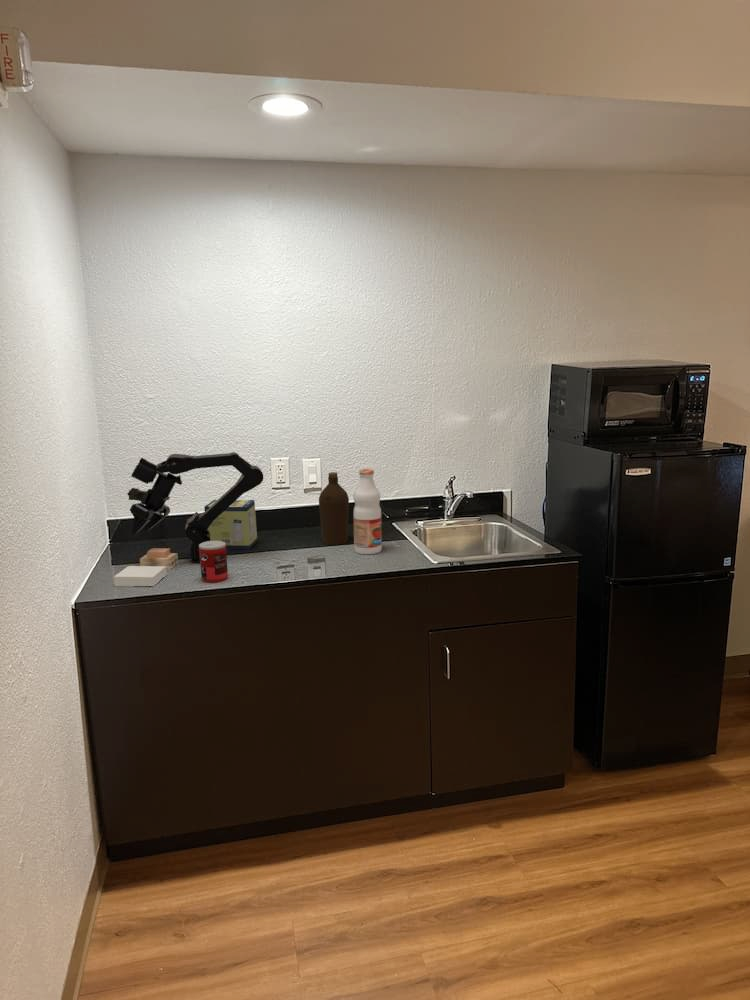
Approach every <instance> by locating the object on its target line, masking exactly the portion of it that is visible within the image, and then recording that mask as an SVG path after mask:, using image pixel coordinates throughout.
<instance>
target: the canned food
mask: <svg viewBox="0 0 750 1000" xmlns="http://www.w3.org/2000/svg"><path fill="white" fill-rule="evenodd" d="M199 555H200V562H199V565H200V575H201V576H200V577H201V579H202V581H203V582H205V583H220V582H223V580H224V581H226V580H227V579H228V576H229V573H228V572H229V570H228V557H227V549H226V544H225V542H223V541H207V542H203V543H201V544H199Z"/></svg>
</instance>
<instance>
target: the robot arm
mask: <svg viewBox="0 0 750 1000" xmlns="http://www.w3.org/2000/svg"><path fill="white" fill-rule="evenodd" d="M229 466H232V467H233V468H234V469H236V470H237V471H238V472H239V473H240V474H241V475H240V476H239V478H238V479H237V481H236V482H235V484H233V486H231V487H230V488H229V489H228V490H227V491H226V492H225V493H223V495H221V496H220V497H219V498H218V499H216V500H217V501H216V502H215V503H214V504H213V505H212V506H211V507H209V508H208V509H207V510H206V511H205V510H204V511H203V512H202V513H199V512H198V511H195V513H194V514H192V516H190V517H189V518H187V520H186V523H185V526H184V527H185V530H184V532H185V536H186V538H187V539H189V540H190V541H191V542H190V546H189V555H190V560H189V561H190V563H200V555H199V544H201V543H203V542H207V541H212V540H210V532H209V531H208V530H207V529H208V528H209V526H210V525H211V523H212V522H213V521H214V520H215V519H216V518H217V517H218V516H219V515H220V514H221V513H223V512H224V511H225V510H226V509H227V508H228V507H229V506H230V505H231V504H232V503H234V502H235V501H236V500H239V498H240V497H241V496H242V495H243V494H245V493H248V492H249V491H251V490H253V489H255V488H256V487H257V486H259V485H261V483H263V481H264V474H263V471H262V470H261V468H260V467H259V466H257V465H253V464H251V463H249V462H248V461H247V460H246V459H244V458H243V457H241V456H240V455H239V453H237V452H235V451H233V452H228V453H218V454H217V453H216V454H203V455H202V454H201V455H189V454H182V453H181V454H180V453H172V454H170V455H169V456H168V457H167V458H166V459H165V460H164V461H162V462H159V463H157V464H155V463H153V462H150V461H149V460H147V459H146V458H143V457H140V459H139V462H138V463H137V464H136V465H135V468H134V469H133V471H132V473H131V475H130V477H132V478H134V479H135V480H137V481H141V482H142V483H145V484H146V485H147V484H150V483H153V482H154V480H155V479H156V480H155V482H154V483H153V485H152V487H151V488H149V489H147V491H146V490H141V489H139V488H136V487H132V488H131V489H129V490H128V492H127V495H128V500H129V501H138V502H139V503H137V502H136V503H135V504H132V505H131V506H130V509H129V511H130V513H131V514H132V516H133V524H132V528H131V529H132V530H131V534H132V536H133V535H134V536H136V534H138V533H139V532H140V531H141V530H142V529H143V532H145V533H148V531H149V530H151V529H152V528H154V527H155V526H156V525H157V524H159V523H160V522H162V520H164V519H165V518H166V517H168V516H169V514H170V512H171V508H170V507H169V506H168V505H166V502H167V501H169V500H170V499H171V496H170V494H171V492H172V491H173V488H174V487H175V485H176V484H177V485H180V486H181V485H183V480H182V478H181V477H182V476H181V475H180V474H183V473H187V472H190V471H191V470H196V469H206V468H217V467H229ZM178 474H179V475H178Z"/></svg>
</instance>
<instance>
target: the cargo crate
mask: <svg viewBox="0 0 750 1000" xmlns="http://www.w3.org/2000/svg"><path fill="white" fill-rule="evenodd" d="M170 553H171V548H169V547H168V548H163V547H162V548H161V547H160V548H159V547H158V548H155V547H154V548H151V549H148V551H147V552H146V554H147V557H148V558H167V557H168V556H169V555H170Z"/></svg>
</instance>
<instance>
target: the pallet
mask: <svg viewBox="0 0 750 1000" xmlns="http://www.w3.org/2000/svg"><path fill="white" fill-rule="evenodd" d="M178 555H179V554H178V553H174V552H170V555H169V556H168V557H167V558H148V557H147V553H146V554H145V555H143V556H142V557H140V558H139V566H166V569H171V568H172V569H173V568H175V567H176V565H175V564H177V565H178V564H179V556H178ZM172 566H173V567H172ZM174 566H175V567H174ZM172 569H171V570H172Z"/></svg>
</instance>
